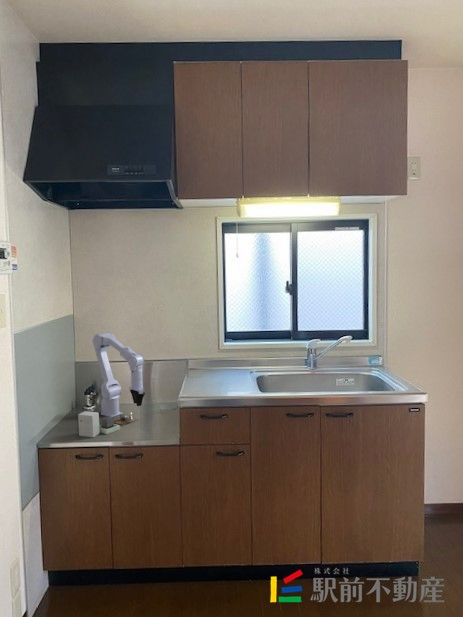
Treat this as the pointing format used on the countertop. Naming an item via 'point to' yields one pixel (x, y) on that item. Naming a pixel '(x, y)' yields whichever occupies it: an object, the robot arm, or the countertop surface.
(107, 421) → the block
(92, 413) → the small box
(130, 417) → the crank
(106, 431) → the tray
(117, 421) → the crank base
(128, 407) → the countertop surface
